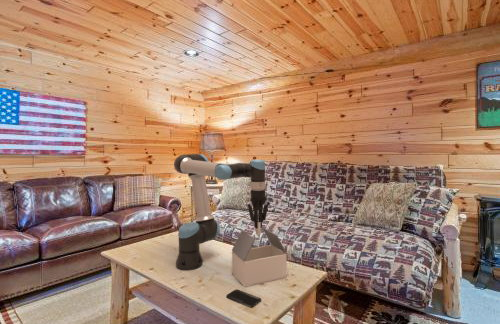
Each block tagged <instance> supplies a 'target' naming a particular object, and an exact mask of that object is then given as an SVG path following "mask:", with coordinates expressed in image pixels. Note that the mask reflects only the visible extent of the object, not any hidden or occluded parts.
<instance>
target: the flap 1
mask: <svg viewBox="0 0 500 324" xmlns="http://www.w3.org/2000/svg"><path fill="white" fill-rule="evenodd" d="M255 240H256V238H255V237H253V236H251V235H250V234H249V233H247V232H245V231H244V230H241V231H240V233H239V235H238V237H237V239H236V241H235V243H234V245H233V247H232V249H231V252H232V251H233V252H234V253H235V254H236V255H237V256H238V257H240V258H241V259H242V260H243V261H245V259H246V257H247V255H248V253H249V251H250V249H251V248H253V247H252V246H253V245H254V242H255Z"/></svg>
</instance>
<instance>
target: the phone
mask: <svg viewBox="0 0 500 324" xmlns="http://www.w3.org/2000/svg"><path fill="white" fill-rule="evenodd" d="M225 296H226V299H228V300H230V301H234V302H235V303H237V304H240V305H243V306H245V307H248V308H251V309H253V308H254V307H256V306H258V305H259V304H260V303H261V302H262V298H261V297H258V296H256V295H253V294H251V293H248V292H245V291H243V290H240V289H237V288H236V289H234V290H232V291H231V292H229V293H228V294H226V295H225Z"/></svg>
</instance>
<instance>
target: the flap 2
mask: <svg viewBox="0 0 500 324" xmlns="http://www.w3.org/2000/svg"><path fill="white" fill-rule="evenodd" d="M261 230H263V232H264V234H265V236H266V237H267V239H268V241H269V243H270V245H273V246H274V247H276V248H277V249H279V250H280V251H282V252H284V253H285V254H287V250H286V248H285V247H284V245H283V244H282V242H281V240H280V238H279V236H278V235H277V234H276V233H274V232H272V231H271V230H269V229H267V228H265V227H263V226H262V228H261Z"/></svg>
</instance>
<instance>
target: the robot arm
mask: <svg viewBox="0 0 500 324" xmlns="http://www.w3.org/2000/svg"><path fill="white" fill-rule="evenodd" d="M173 168H174V169H175V171H176V172H177V173H180V174H183V175H187V177H188V178H189V179H190V180H191V187H192V192H193V198H194V204H195V211H196V219H195V222H194V221H193V222H187V223H184V224H182V225H181V226H179V228H178V234H177V236H178V254H177V258H176V261H175V267H176V269H179V270H182V271H191V270H196V269H199V268H201V267H202V266H203V262H204V261H203V257H202V255H201V251H200V245H201V244H204V243H206V242H209V241H213V240H215V239H216V238H217V237H219V234H220V233H221V232H220V231H221V228H220V227H221V226H220V224H219V222H218V221H217V219H215V217H214V216H213V215H212V211H211V205H210V200H209V193H208V186H207V181H206V176H207V177H210V178H211V177H213V178H216V179H218V180H220V181H227V180H232V179H239V178H240V179H241V178H250V189H251V190H250V199H249V200H250V201H248V202H247V203H246V207H247V210H248V212H249V218H250V221H252V222H254V225H253V227H254V229H255V234H256V235H258V236H260V235H261V233H262V232H261V230H262V227H263V223H264V221H266V219H267V214H268V209H269V207H270V204H271V202H270V201H267V199H266V190H265V189H266V169H267V168H266V162H265V160H264V159H251V160H250V163H247V162H235V163H228V164H227V163H221V162H212V161H209V158H208V157H206V155H204V154H203V153H202V154H201V153H193V154H192V153H189V154H181V155H179V156H177V157H176V158H175V160H174V162H173ZM252 206H253V207H252Z"/></svg>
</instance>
